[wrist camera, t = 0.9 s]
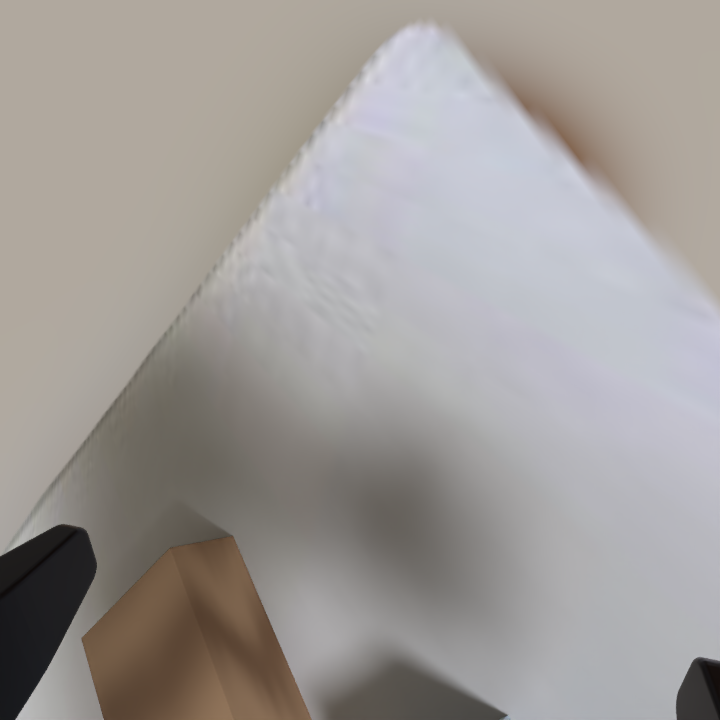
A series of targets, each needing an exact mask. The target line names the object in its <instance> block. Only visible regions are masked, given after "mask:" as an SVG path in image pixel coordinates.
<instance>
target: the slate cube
mask: <svg viewBox="0 0 720 720" xmlns="http://www.w3.org/2000/svg"><path fill="white" fill-rule="evenodd" d="M499 720H510V718H509V716H508V715H507V716H505V717H503V718H501V719H499Z"/></svg>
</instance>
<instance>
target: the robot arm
mask: <svg viewBox="0 0 720 720" xmlns="http://www.w3.org/2000/svg"><path fill="white" fill-rule="evenodd" d="M96 569H97V562H96V558H95V555H94V552H93V549H92V545H91V542H90V539H89V535H88V533H87V531H86V530H85V529H83V528H81V527H76V526H71V525H66V524H61V525H57V526H55V527H53V528H51V529H49V530H47V531H46V532H44V533H42V534H40V535H38V536H36V537H35V538H33V539H31V540H29V541H27V542H26V543H24V544H22V545H20V546H18V547H16V548H15V549H13V550H11V551H9V552H7V553H6V554H4V555H2V556H0V720H15V719H16V718H17V716H18V715H19V713H20V711H21V710H22V708H23V707H24V705H25V704H26V702H27V700H28V699H29V697H30V696H31V694H32V693H33V691H34V689H35V688H36V686H37V685H38V683H39V681H40V680H41V678H42V676H43V675H44V673H45V671H46V670H47V668H48V666H49V664H50V663H51V661H52V659H53V657H54V655H55V653H56V651H57V649H58V647H59V646H60V644H61V642H62V640H63V638H64V636H65V634H66V632H67V630H68V628H69V626H70V624H71V622H72V620H73V618H74V616H75V614H76V612H77V610H78V608H79V607H80V605H81V603H82V601H83V599H84V597H85V595H86V593H87V591H88V589H89V587H90V585H91V583H92V581H93V579H94V577H95V573H96ZM676 714H677V720H720V661H717V660H712V659H708V658H703V657H698V658H696V659H694V660H693V662H692V664H691V666H690V668H689V670H688V672H687V674H686V676H685V678H684V680H683V682H682V685H681V687H680V689H679V691H678V694H677V700H676Z"/></svg>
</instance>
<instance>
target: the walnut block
mask: <svg viewBox="0 0 720 720" xmlns="http://www.w3.org/2000/svg"><path fill="white" fill-rule="evenodd" d="M81 639H82V642H83V646H84V649H85V653H86V657H87V660H88V664H89V667H90V671H91V675H92V678H93V682H94V685H95V689H96V693H97V696H98V700H99V704H100V707H101V711H102V714H103V718H104V720H312V719H311V717H310V714H309V712H308V710H307V707H306V705H305V703H304V700H303V698H302V696H301V693H300V691H299V689H298V686H297V684H296V682H295V679H294V677H293V675H292V672H291V670H290V668H289V665H288V663H287V661H286V658H285V656H284V654H283V651H282V649H281V647H280V644H279V642H278V640H277V638H276V635H275V633H274V631H273V628H272V626H271V624H270V621H269V619H268V617H267V614H266V612H265V610H264V607H263V605H262V603H261V600H260V598H259V596H258V593H257V591H256V589H255V586H254V584H253V582H252V579H251V577H250V575H249V572H248V570H247V568H246V565H245V563H244V561H243V558H242V556H241V554H240V551H239V549H238V547H237V544H236V542H235V540H234V537H233V536H231V537H225V538H220V539H215V540H209V541H204V542H199V543H193V544H188V545H183V546H177V547H172V548H169V549H168V550H167V552H166V553H165V554H164V555H163V556H162V557H161V558H160V559H159V560H158V561H157V562H156V563H155V564H154V565H153V566H152V567H151V568H150V569H149V570H148V571H147V572H146V573H145V574H144V575H143V576H142V577H141V578H140V579H139V580H138V581H137V582H136V583H135V584H134V585H133V586H132V587H131V588H130V589H129V590H128V591H127V592H126V593H125V594H124V595H123V596H122V597H121V598H120V600H119V601H118V602H117V603H116V604H115V605H114V606H113V607H112V608H111V609H110V610H109V611H108V612H107V613H106V614H105V615H104V616H103V617H102V618H101V619H100V620H99V621H98V622H97V623H96V624H95V625H94V626H93V627H92V628H91V629H90V630H89V631H88V632H87V633H86V634H85V635H84V636H83V637H82V638H81Z"/></svg>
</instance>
